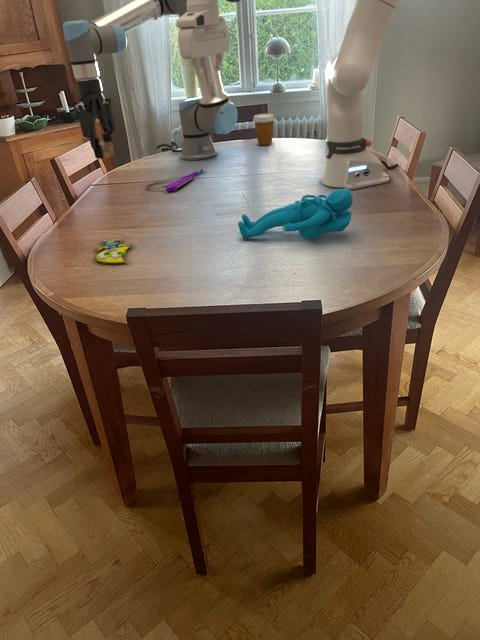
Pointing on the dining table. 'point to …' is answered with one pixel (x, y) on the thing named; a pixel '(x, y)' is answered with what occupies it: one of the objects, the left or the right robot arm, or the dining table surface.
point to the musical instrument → (178, 181)
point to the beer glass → (264, 128)
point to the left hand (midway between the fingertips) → (104, 156)
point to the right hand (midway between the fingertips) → (209, 73)
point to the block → (106, 149)
